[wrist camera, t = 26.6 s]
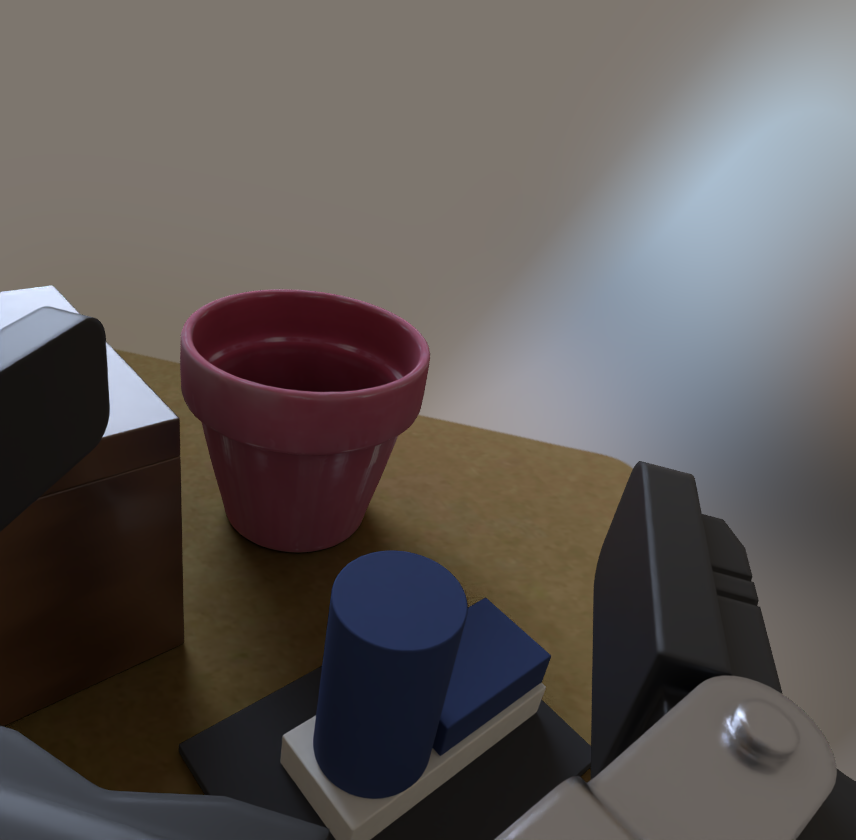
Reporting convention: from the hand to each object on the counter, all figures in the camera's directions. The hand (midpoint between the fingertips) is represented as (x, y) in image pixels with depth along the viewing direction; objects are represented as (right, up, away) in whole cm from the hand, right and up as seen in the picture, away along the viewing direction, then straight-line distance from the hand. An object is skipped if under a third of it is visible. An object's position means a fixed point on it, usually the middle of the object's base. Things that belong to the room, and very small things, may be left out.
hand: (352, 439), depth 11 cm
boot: (+1, -15, +25) cm, 29 cm away
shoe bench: (-20, -9, +29) cm, 36 cm away
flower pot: (-8, -6, +39) cm, 40 cm away
